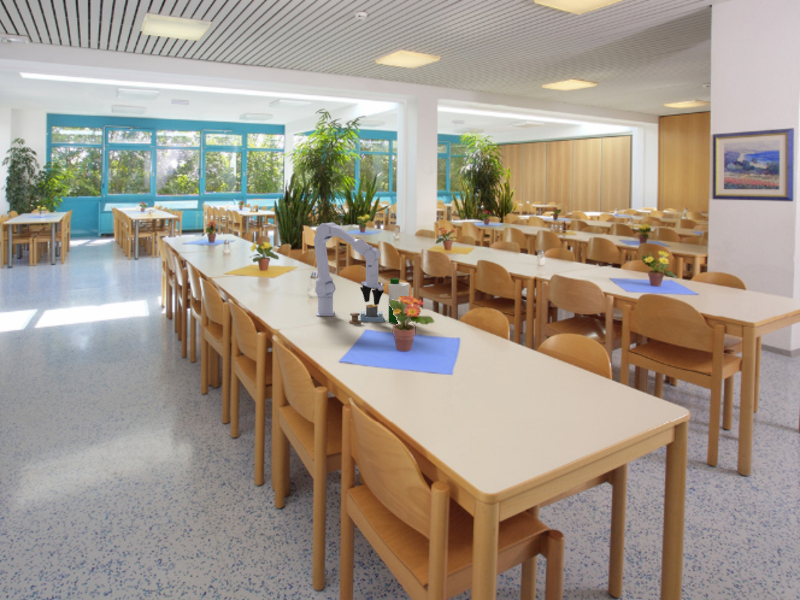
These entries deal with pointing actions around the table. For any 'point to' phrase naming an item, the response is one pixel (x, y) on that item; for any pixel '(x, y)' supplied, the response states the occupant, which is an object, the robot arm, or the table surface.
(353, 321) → the bobbin
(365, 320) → the blue square socket
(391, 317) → the soya milk
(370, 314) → the orange and grey block
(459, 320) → the table surface
